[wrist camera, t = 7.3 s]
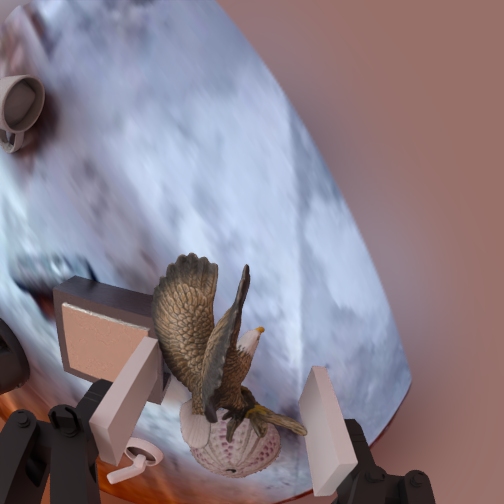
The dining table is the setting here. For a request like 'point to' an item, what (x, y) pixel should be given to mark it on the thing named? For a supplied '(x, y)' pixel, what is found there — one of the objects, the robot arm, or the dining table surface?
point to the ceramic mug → (19, 107)
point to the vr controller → (136, 460)
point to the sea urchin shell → (237, 449)
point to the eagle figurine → (208, 351)
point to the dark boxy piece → (103, 330)
